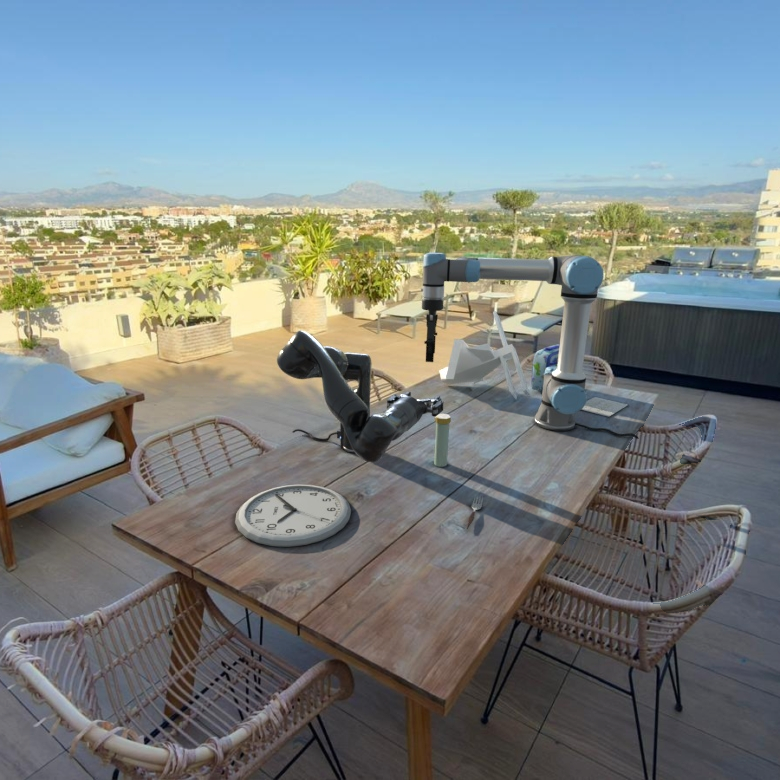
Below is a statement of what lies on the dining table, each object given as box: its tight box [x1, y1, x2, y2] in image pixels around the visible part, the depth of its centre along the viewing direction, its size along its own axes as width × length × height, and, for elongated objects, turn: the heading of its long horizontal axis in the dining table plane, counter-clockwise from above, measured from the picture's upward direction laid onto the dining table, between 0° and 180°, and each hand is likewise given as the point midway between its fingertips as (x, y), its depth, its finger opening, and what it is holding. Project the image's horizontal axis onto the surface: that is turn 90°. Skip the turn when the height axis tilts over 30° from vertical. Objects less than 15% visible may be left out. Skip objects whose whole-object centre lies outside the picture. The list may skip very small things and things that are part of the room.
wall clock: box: [234, 484, 352, 548], centre depth 138 cm, size 30×2×30 cm
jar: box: [433, 422, 450, 468], centre depth 167 cm, size 4×4×16 cm
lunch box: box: [530, 344, 560, 393], centre depth 247 cm, size 26×11×21 cm, turn 134°
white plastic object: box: [438, 310, 531, 400], centre depth 245 cm, size 37×45×31 cm
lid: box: [434, 413, 452, 425], centre depth 164 cm, size 5×5×2 cm
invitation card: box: [580, 396, 629, 418], centre depth 226 cm, size 21×1×15 cm
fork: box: [466, 495, 484, 530], centre depth 138 cm, size 3×16×2 cm, turn 160°
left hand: (424, 397), depth 144 cm, fingers open, 8 cm apart
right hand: (430, 357), depth 190 cm, fingers open, 13 cm apart
